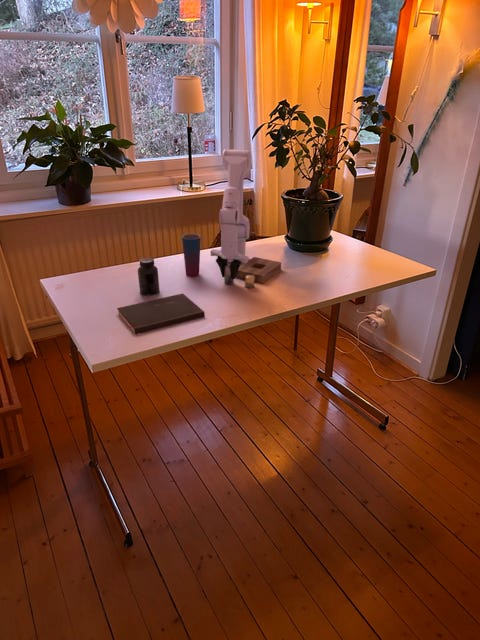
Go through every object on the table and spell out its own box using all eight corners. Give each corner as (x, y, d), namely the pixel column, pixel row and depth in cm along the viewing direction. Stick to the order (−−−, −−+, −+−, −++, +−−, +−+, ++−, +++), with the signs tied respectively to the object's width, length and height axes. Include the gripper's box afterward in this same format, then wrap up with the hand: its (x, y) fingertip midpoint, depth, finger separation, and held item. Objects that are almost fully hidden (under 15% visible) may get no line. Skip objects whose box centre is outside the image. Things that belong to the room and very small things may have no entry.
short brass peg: (243, 287, 169) (243, 277, 167) (247, 284, 172) (247, 274, 170) (251, 289, 168) (251, 279, 166) (255, 286, 170) (256, 275, 168)
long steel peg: (222, 283, 171) (222, 265, 168) (227, 279, 174) (227, 262, 171) (230, 284, 170) (230, 266, 167) (235, 281, 173) (235, 263, 169)
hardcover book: (117, 314, 150) (117, 308, 149) (183, 299, 161) (182, 293, 159) (135, 336, 138) (134, 329, 137) (204, 318, 149) (204, 311, 147)
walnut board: (234, 276, 177) (234, 269, 176) (253, 263, 190) (254, 256, 188) (263, 283, 172) (263, 276, 171) (280, 269, 185) (281, 262, 183)
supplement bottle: (152, 286, 168) (149, 254, 163) (163, 292, 164) (161, 259, 158) (135, 291, 164) (132, 259, 158) (147, 297, 160) (144, 264, 154)
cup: (180, 276, 177) (178, 237, 170) (188, 269, 183) (187, 232, 176) (196, 279, 175) (195, 240, 168) (204, 272, 180) (203, 235, 173)
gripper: (205, 241, 165) (206, 277, 171) (242, 248, 159) (241, 285, 165) (216, 236, 170) (216, 270, 176) (251, 242, 164) (250, 278, 170)
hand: (229, 277), depth 171 cm, fingers closed on long steel peg, 3 cm apart
